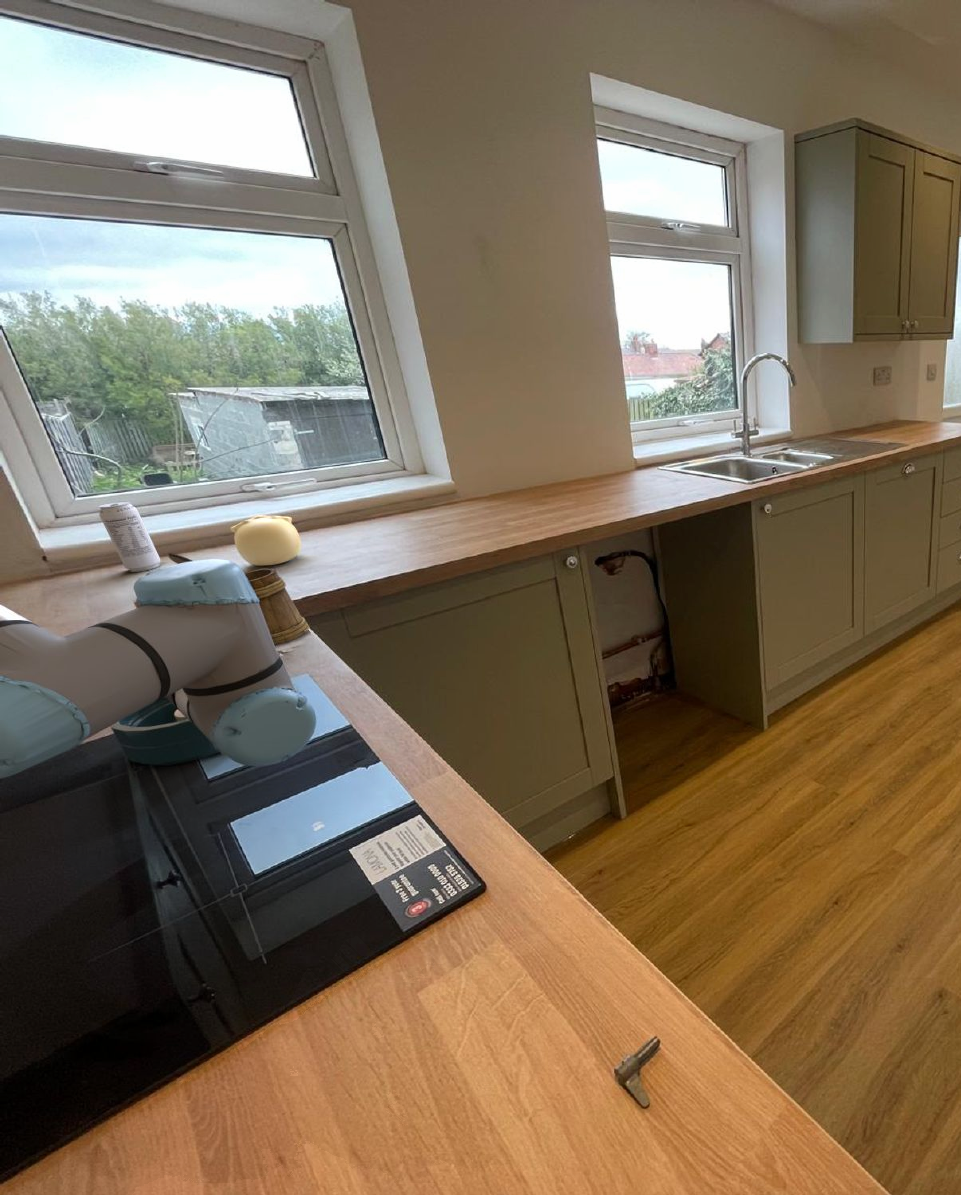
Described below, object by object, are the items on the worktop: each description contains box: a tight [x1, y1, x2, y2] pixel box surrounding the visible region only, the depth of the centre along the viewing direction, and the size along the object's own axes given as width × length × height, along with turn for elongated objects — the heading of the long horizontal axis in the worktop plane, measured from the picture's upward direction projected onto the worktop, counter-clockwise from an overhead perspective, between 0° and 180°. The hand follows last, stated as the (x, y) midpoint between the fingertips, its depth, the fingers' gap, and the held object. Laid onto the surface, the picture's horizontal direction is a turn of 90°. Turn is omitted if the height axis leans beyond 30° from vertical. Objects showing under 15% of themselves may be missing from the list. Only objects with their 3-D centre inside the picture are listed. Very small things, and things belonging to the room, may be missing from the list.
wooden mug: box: [168, 552, 310, 646], centre depth 104 cm, size 9×14×18 cm, turn 155°
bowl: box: [109, 699, 220, 766], centre depth 82 cm, size 16×16×6 cm
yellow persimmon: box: [230, 514, 302, 566], centre depth 145 cm, size 11×12×11 cm
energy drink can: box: [98, 500, 161, 573], centre depth 144 cm, size 6×6×15 cm
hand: (159, 638), depth 82 cm, fingers closed on wooden stirrer, 2 cm apart
